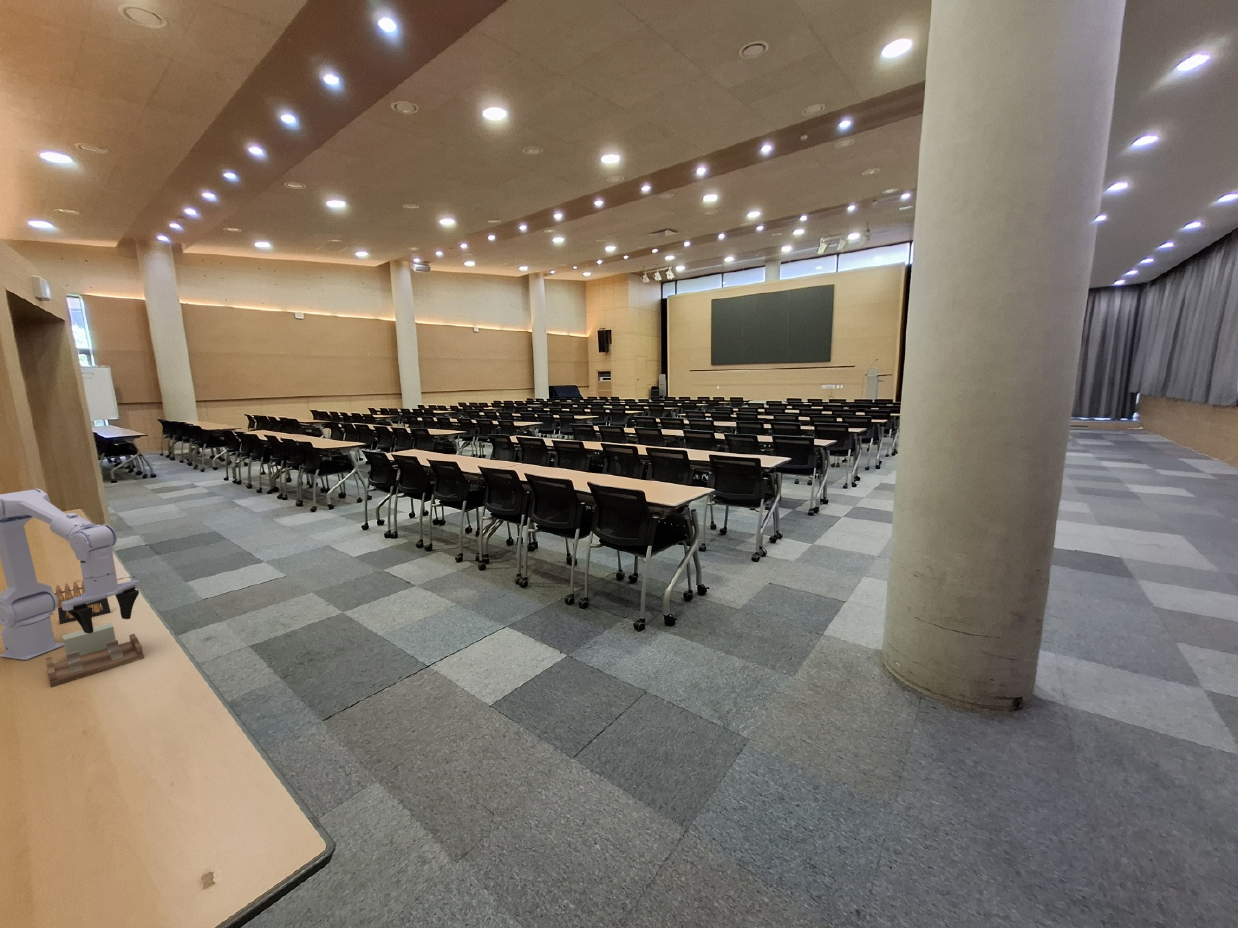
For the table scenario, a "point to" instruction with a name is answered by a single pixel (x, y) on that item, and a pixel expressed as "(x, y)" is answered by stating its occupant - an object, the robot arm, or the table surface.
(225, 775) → the table surface
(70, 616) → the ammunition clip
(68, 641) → the tapered sage green block
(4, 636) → the robot arm
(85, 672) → the brown wooden holder
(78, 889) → the table surface
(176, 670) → the table surface
